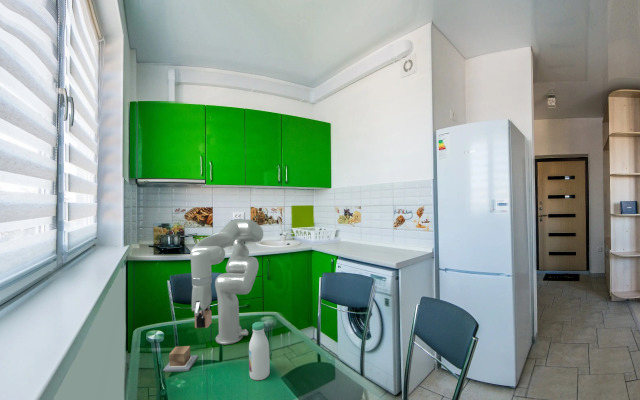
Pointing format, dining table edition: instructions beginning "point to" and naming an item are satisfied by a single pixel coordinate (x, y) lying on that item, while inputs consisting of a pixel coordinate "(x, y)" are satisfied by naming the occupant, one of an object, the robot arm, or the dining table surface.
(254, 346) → the milk bottle
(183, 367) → the plate
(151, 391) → the dining table surface
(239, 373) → the dining table surface
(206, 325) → the terracotta block
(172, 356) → the walnut block
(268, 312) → the dining table surface
